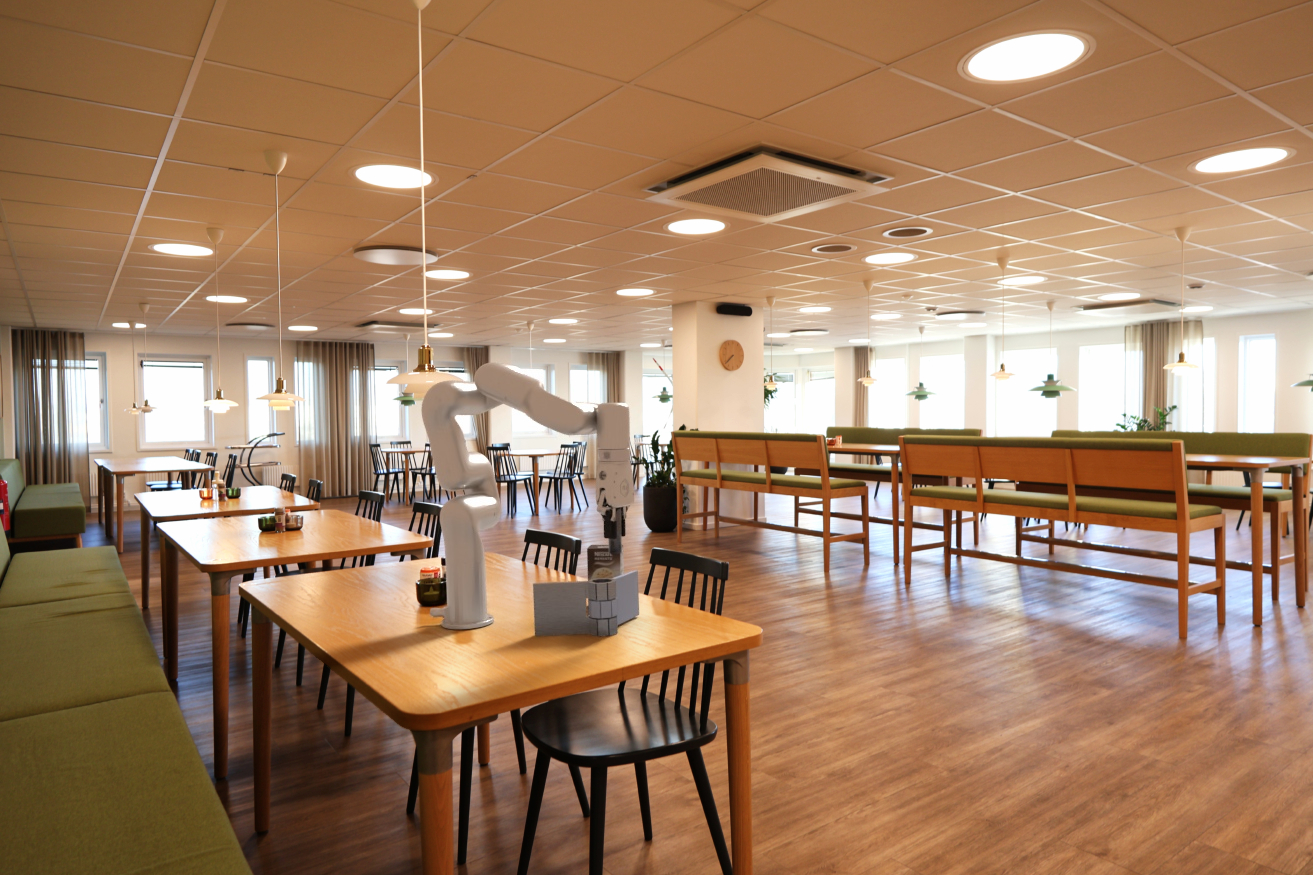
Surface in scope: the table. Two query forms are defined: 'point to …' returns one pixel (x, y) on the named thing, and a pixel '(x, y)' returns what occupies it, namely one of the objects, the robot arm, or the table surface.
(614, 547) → the hinge pin
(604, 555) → the coffee box
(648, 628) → the table surface
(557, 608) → the hinge frame
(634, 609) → the hinge leaf
